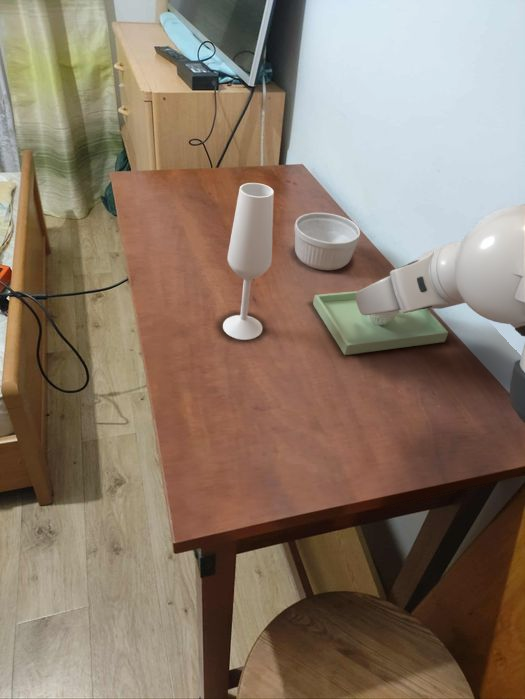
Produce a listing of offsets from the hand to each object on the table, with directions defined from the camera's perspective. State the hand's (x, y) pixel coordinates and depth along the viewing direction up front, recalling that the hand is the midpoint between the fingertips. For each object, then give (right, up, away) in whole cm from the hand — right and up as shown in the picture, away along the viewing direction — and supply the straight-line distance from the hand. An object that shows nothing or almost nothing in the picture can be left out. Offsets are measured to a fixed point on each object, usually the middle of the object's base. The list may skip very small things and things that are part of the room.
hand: (382, 296), depth 87 cm
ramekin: (-8, +10, +19) cm, 23 cm away
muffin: (0, -4, +3) cm, 5 cm away
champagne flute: (-24, -5, -2) cm, 25 cm away
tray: (0, -4, +3) cm, 5 cm away
